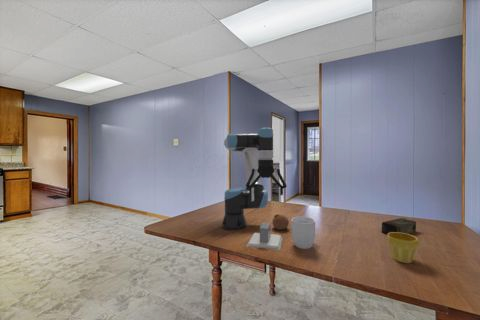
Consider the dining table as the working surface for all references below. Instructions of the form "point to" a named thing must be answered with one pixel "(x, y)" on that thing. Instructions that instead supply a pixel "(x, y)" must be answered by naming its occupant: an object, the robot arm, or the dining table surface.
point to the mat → (265, 247)
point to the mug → (303, 231)
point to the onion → (280, 222)
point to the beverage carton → (399, 226)
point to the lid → (265, 237)
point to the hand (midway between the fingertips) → (266, 201)
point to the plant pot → (402, 246)
